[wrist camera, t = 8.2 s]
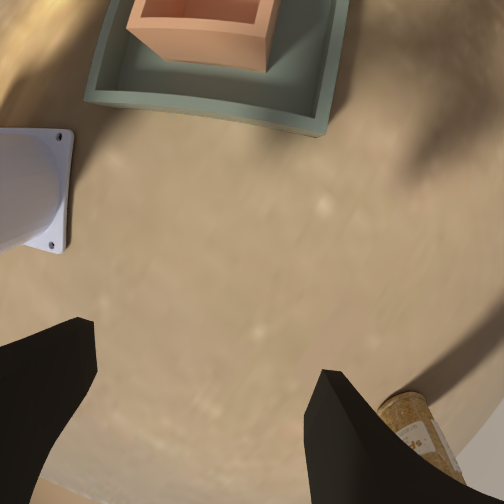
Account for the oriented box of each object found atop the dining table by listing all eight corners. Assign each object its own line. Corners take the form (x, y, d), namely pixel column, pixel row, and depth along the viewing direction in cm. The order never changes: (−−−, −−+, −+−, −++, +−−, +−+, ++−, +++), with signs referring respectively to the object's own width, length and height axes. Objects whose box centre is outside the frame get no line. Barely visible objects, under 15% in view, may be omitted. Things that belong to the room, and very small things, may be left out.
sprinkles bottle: (380, 392, 21) (436, 545, 8) (432, 386, 21) (501, 518, 8) (367, 432, 23) (403, 570, 10) (415, 425, 22) (464, 549, 9)
